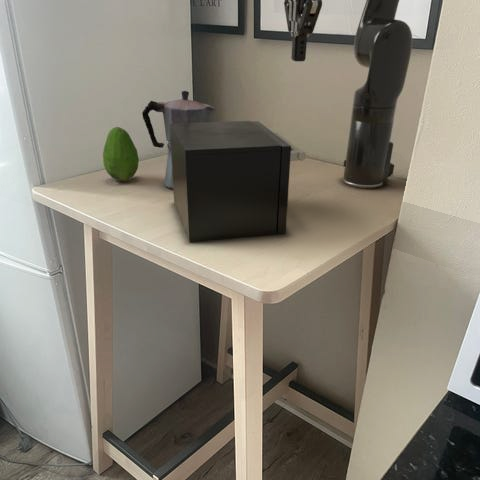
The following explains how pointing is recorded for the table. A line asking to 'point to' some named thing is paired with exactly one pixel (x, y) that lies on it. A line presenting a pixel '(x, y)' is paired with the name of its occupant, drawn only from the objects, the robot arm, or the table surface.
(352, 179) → the robot arm
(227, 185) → the oven
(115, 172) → the avocado
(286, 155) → the oven door
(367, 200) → the table surface
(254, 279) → the table surface
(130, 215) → the table surface
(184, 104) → the moka pot
